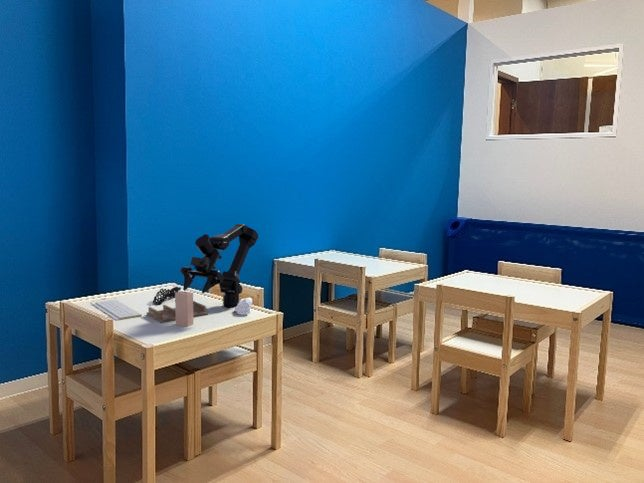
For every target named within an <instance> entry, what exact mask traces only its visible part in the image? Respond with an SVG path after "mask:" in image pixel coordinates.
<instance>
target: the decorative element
mask: <svg viewBox="0 0 644 483" xmlns="http://www.w3.org/2000/svg"><path fill="white" fill-rule="evenodd" d="M181 290H182V288H181V287H180V286H179V287H178V286H173V288H171V289H167V288H160V289H159V291H157V292H156V294H155V296H154V298H153V300H152V304H153V305H155V306H160V305H161V304H162V303H164V301H165V300H166V299H167V298H168V297H169V298H174V297H175V293H176V292H180V291H181Z"/></svg>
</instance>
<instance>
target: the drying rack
mask: <svg viewBox="0 0 644 483" xmlns="http://www.w3.org/2000/svg"><path fill="white" fill-rule="evenodd" d="M147 309H148V311H147V312H146V316H148V317H150V318H151V319H153V320H155V321H157V322H159V323H162V324H163V323H169V322H173V321H174V322H176V312H175V307H170V306H169V305H166V304H163V305H162V309H161V310H157V309H155V308H153V307H151V306H149V307H148V308H147ZM207 315H209V312H207V306H206V305H204V304H201V303H200V302H198V301H195V300H193V318H196V317H197V318H198V317H202V316H207Z"/></svg>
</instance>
